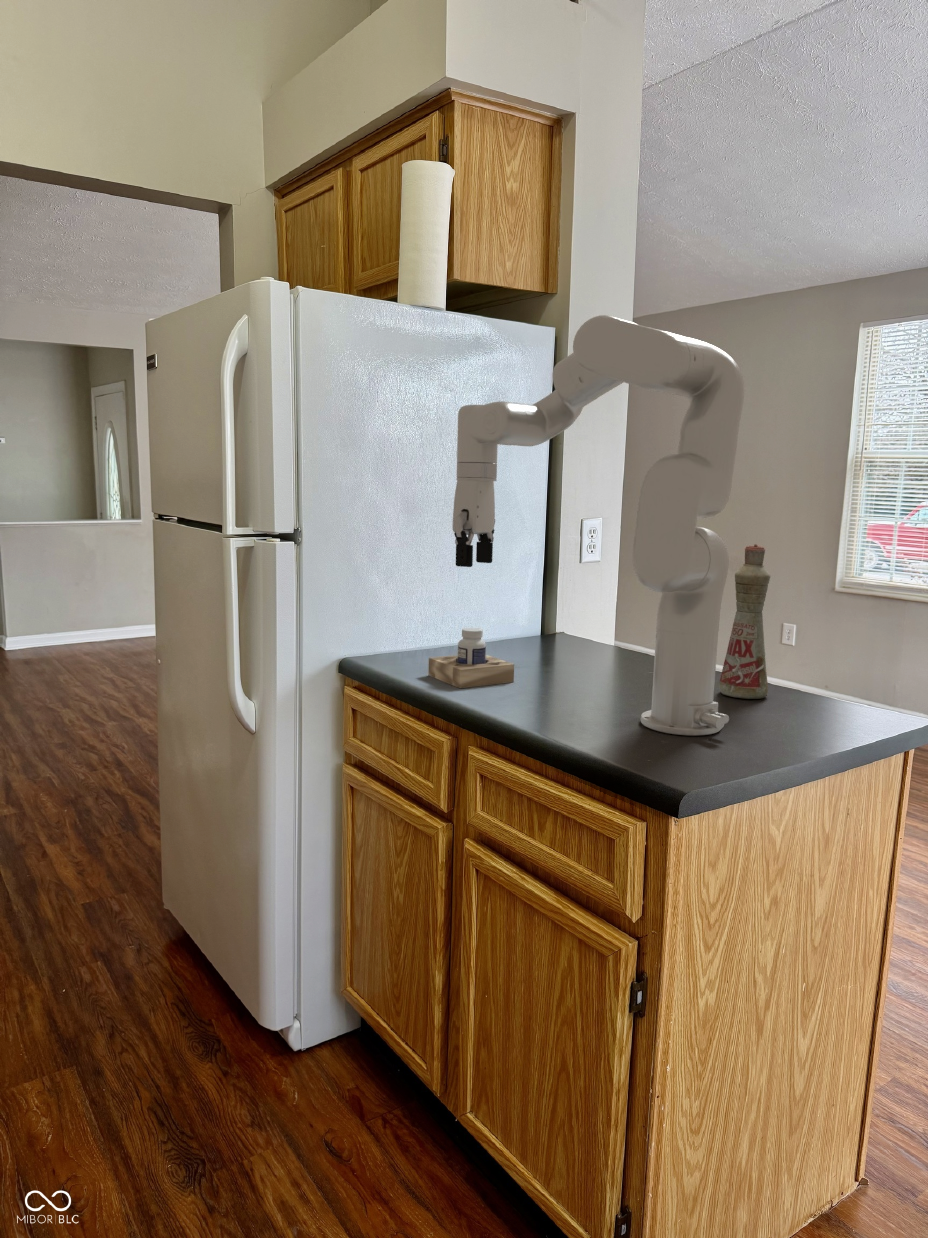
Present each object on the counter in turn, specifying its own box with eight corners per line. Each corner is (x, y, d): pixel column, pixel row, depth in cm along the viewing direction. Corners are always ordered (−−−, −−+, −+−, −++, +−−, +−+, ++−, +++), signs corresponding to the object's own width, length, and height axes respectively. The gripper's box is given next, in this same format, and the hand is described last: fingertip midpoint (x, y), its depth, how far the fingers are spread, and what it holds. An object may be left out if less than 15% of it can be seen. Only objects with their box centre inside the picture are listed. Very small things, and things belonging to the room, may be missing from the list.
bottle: (779, 697, 162) (792, 545, 157) (745, 703, 157) (757, 546, 152) (741, 687, 169) (753, 541, 164) (708, 692, 164) (719, 542, 160)
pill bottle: (486, 676, 173) (487, 627, 171) (483, 682, 167) (485, 632, 166) (458, 675, 173) (459, 626, 172) (455, 681, 168) (456, 631, 166)
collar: (513, 682, 168) (514, 664, 168) (459, 688, 162) (460, 669, 162) (480, 669, 179) (480, 652, 178) (428, 675, 172) (428, 657, 172)
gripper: (476, 473, 174) (473, 560, 176) (438, 471, 158) (436, 566, 161) (511, 474, 171) (509, 562, 173) (477, 472, 155) (474, 569, 158)
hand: (474, 564), depth 167 cm, fingers open, 9 cm apart
